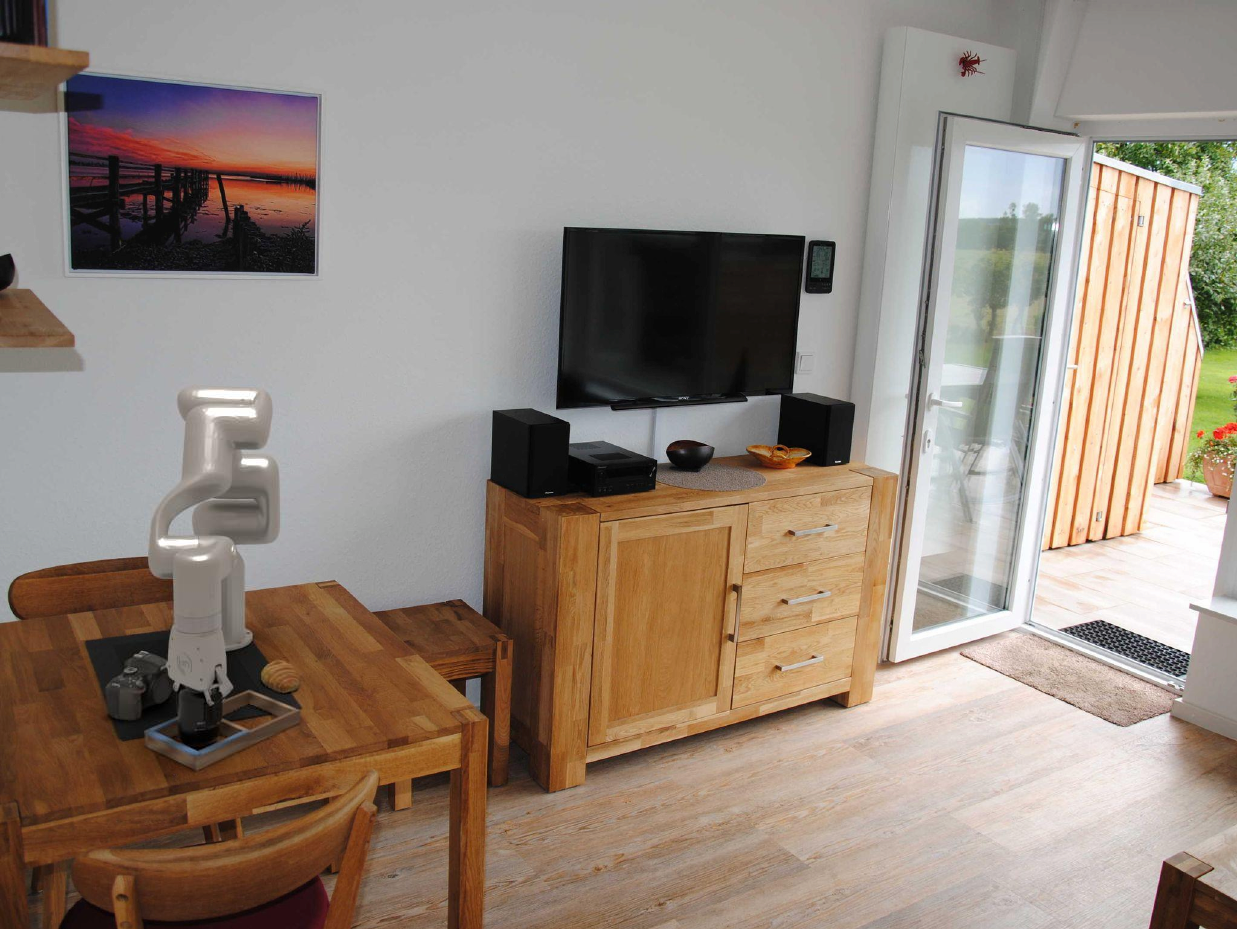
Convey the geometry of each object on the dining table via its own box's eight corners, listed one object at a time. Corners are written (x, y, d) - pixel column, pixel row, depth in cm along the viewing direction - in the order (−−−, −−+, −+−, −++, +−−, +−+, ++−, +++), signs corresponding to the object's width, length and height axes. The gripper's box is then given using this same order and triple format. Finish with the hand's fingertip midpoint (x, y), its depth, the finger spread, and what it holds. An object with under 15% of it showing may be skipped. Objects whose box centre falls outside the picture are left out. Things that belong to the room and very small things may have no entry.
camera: (160, 722, 189) (159, 671, 187) (102, 721, 188) (100, 670, 186) (180, 690, 202) (179, 642, 200) (126, 689, 201) (125, 641, 198)
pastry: (307, 690, 206) (307, 673, 205) (274, 698, 202) (274, 680, 201) (290, 673, 213) (290, 656, 213) (257, 680, 209) (257, 662, 208)
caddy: (144, 746, 180) (143, 730, 180) (249, 701, 199) (248, 687, 199) (197, 771, 174) (196, 755, 173) (300, 722, 193) (300, 708, 192)
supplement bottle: (205, 750, 178) (204, 685, 175) (169, 743, 179) (168, 679, 177) (228, 732, 185) (227, 669, 182) (193, 726, 186) (192, 663, 183)
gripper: (145, 613, 178) (148, 709, 182) (213, 640, 170) (214, 740, 174) (183, 602, 184) (184, 695, 188) (250, 627, 176) (251, 723, 180)
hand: (199, 715), depth 181 cm, fingers closed on supplement bottle, 6 cm apart
